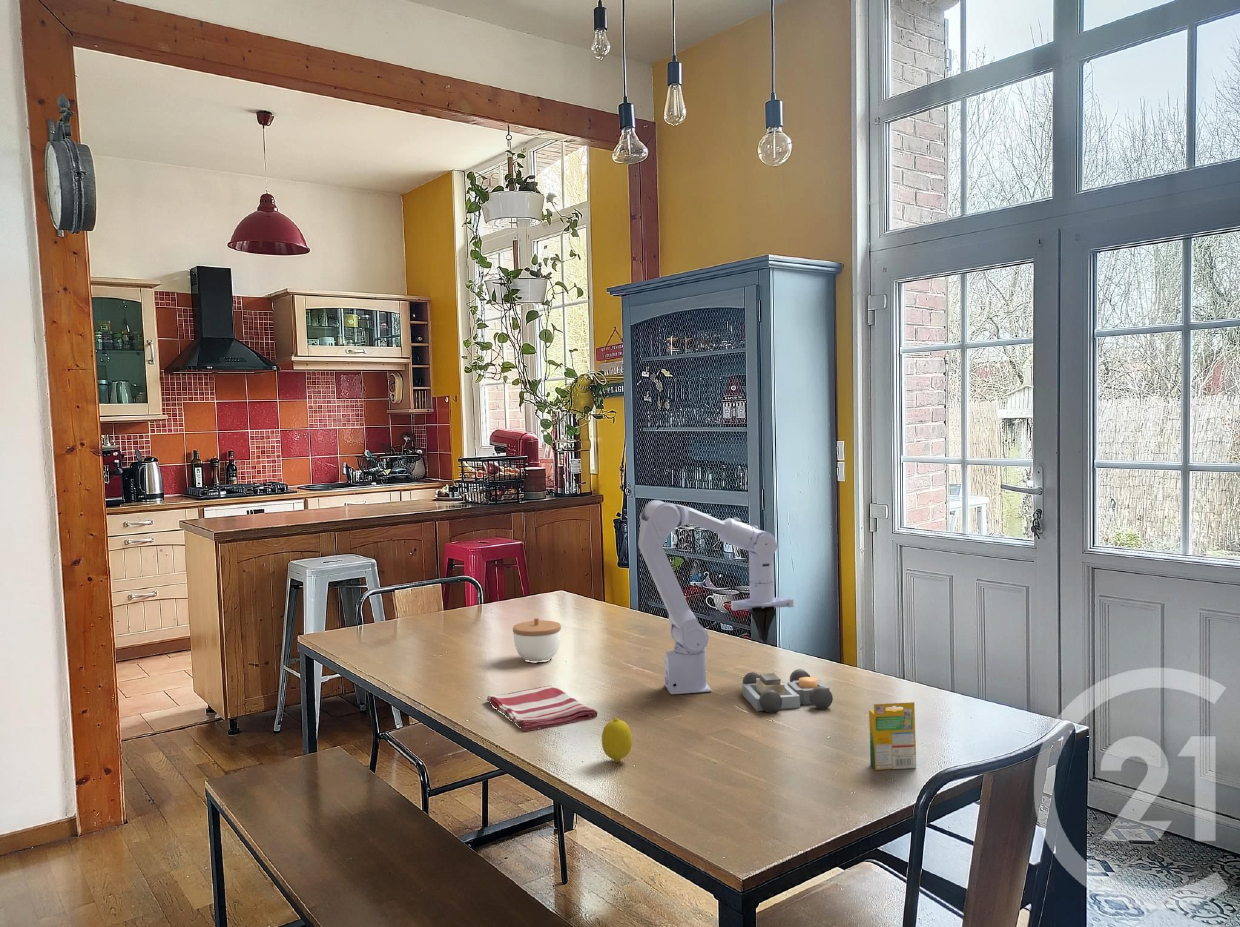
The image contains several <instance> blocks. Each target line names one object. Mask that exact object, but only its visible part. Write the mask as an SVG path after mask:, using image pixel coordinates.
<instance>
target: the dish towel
mask: <svg viewBox="0 0 1240 927" xmlns="http://www.w3.org/2000/svg"><path fill="white" fill-rule="evenodd" d="M486 701H487V702H488V701H489V702H491V704H492V705H493V706H494V707H495V708H497V710H499V711H501V712H502V713H504V714H505V715H506V716H507V717H509V719H510V720H512V721H513V722H514V723H516V724H517V725H518V726H519V727H521V729H522V730H523V731H526V732H529V731H528V730H531V731H533V730H532V729H536V730H539V729H538V728H541V729H545V728H544V727H546V728H550V727H549V726H551V727H556V726H555V725H557V726H562V725H565V723H566V724H569V723H575V722H580V721H587V719H588V720H592V719H595V718H597V716H598V714H599V713H598V711H597V710H595V709H593V708H591V707H588V706H586V705H584V704H582V703H581V702H579V701H578V700H577V699H576V698H573V697H572V696H571V695H569V694H568V693H566V692H565V691H563V690H561V689H560V688H558V687H554V686H553V685H545V686H539V687H534V688H530V689H523V690H518V691H514V692H509V693H504V694H503V693H502V694H488V695H487V698H486ZM489 702H488V703H489ZM510 720H509V721H510ZM574 721H575V722H574ZM513 722H512V723H513ZM514 723H513V724H514ZM519 727H518V728H519ZM521 729H520V730H521ZM522 730H521V731H522ZM523 731H522V732H523Z"/></svg>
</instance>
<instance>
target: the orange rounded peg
mask: <svg viewBox="0 0 1240 927" xmlns="http://www.w3.org/2000/svg"><path fill="white" fill-rule="evenodd" d="M817 680H818V679H817V678H816V677H811V676H810V677H802V678H799V687H800V688H801V689H805V688H815V687H817V686H818V684H817Z"/></svg>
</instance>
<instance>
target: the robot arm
mask: <svg viewBox="0 0 1240 927" xmlns="http://www.w3.org/2000/svg"><path fill="white" fill-rule="evenodd" d="M639 520H640V521H639V522H640V527H639V536H638V543H637V544H638V549H639V551H640V553H641V555H642V557H643V559H644V562H645V564H646V566H647V569H648V571H649V573H650V575H651V577H652V581H653V582H654V584H655V587H656V589H657V591H658V594H659V596H660V597H661V600H662V603H663V604H664V607H665V609H666V611H667V613H668V621H669V624H670V635H671V638H672V639H673V641H674V642H675V644H674V647H673V650H670V651H665V652H664V658H663V660H664V662H663V663H664V686H665V688H666V689H667V691H668V693H669V694H670V695H682V694H693V693H694V694H695V693H707V692H708V693H711V692H712V688H711V687H710V686H709V684H708V683H707V660H706V658H707V657H706V656H707V655H706V654H707V653H706V647H707V645H708V643H709V633H708V631H707V630H706V628H704V627H703V626H702V625H701V624H700V623H699V621H698V619H697V617H696V616H695V613H693V611H692V610H691V608H690V606H689V604H688V602H687V600H686V597H685V595H684V593H683V590H682V589H681V585H680V584H679V581H678V579H677V576H676V575H675V572H674V570H673V568H672V566H671V563H670V561H669V558H668V556H667V553H666V552H665V550H664V545H665V542H666V541H667V539H668V536H670V534H672V532H673V531H674V530H675V529H676V528H677V527H678V526H680V527H683V526H686V525H694V526H696V527H698V528H702V529H705V530H707V531H710V532H713V533H715V534H717V536H718V538H719V540H720V541H721V542H724V543H725V544H729V545H730V546H733V547H736V548H739V549H741V550H745V551H747V552H748V576H749V580H748V581H749V582H748V584H749V587H748V588H749V598H746V599H740V600H731V601H730V609H731V611H735V612H736V611H741V610H748V611H749V612H750V615H751V617H752V619H753V622H754V624H755V627H756V629H757V633H758V638H759V640H760V641H765V640H766V641H768V637H769V631H770V628H771V624H772V622H773V620H774V618H775V616H776V614H777V610H776V608H794V598H792V597H775V574H774V573H775V571H774V570H775V566H774V554H775V553H776V551H777V550H778V546H779V545H778V542H777V540H776V538H775V536H774V535H773V533H771V532H769V531H765V530H762V529H759V526H758V525H753V524H752V525H749V524H747V523H744V522H741V520H742V519H741V518H738V517H735V516H734V517H733V518H731V517H728V518H726V519H723V520H721V519H718V518H716V517H713V516H711V515H709V514H706V513H704V512H702V511H699V510H697V509H694V508H692V507H690V506H685V505H681V504H677V503H676V504H675V503H672V502H664V501H662V500H660V499H654V500H653V499H652V500H651V501H649V502H648V503H646V504H645V506H644V507H643V510H642V511H641V514H640V516H639Z"/></svg>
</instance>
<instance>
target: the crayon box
mask: <svg viewBox="0 0 1240 927" xmlns="http://www.w3.org/2000/svg"><path fill="white" fill-rule="evenodd" d="M893 707H896V708H893ZM899 707H900V708H899ZM887 708H890V709H887ZM915 711H916V710H915V702H913V701H911V702H895V703H873V709H869V710H868V718H869V722H868V723H869V752H870V753H869V758H870V765H871V767H872V768H873V769H874V770H875V771H881V770H882V771H883V770H899V769H900V770H902V769H914V770H915V769H917V750H916V749H917V748H916V717H915V715H916V714H915Z"/></svg>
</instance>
